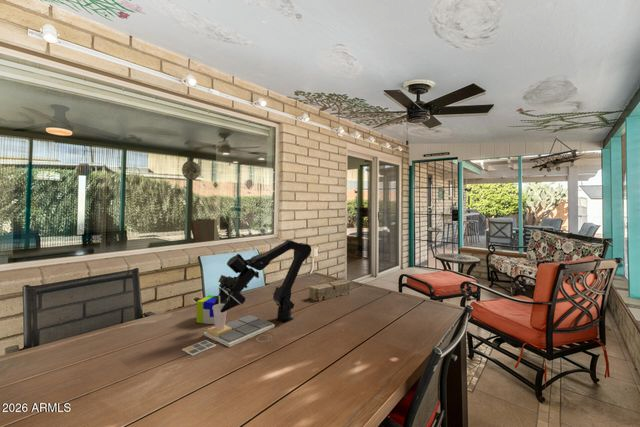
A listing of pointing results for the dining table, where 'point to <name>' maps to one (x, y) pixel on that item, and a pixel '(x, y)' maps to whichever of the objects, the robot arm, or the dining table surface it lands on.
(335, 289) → the tan stone block
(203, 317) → the puzzle toy
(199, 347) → the pattern card
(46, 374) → the dining table surface
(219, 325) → the smoothie
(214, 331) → the amber button
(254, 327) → the button board
